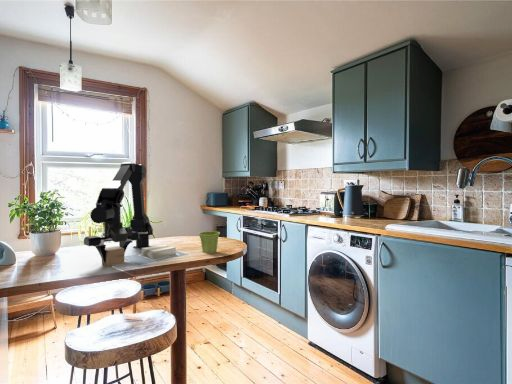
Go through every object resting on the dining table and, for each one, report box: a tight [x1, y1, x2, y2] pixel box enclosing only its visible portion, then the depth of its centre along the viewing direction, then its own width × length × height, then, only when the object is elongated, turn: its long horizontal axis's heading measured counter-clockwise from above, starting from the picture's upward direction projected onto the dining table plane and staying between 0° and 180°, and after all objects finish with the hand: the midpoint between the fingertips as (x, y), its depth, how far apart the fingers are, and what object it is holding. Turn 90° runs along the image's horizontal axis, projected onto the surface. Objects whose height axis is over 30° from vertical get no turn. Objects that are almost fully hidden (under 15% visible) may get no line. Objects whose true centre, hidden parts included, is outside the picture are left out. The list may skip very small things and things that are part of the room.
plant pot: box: [198, 230, 221, 254], centre depth 137 cm, size 9×9×9 cm
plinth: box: [141, 244, 177, 259], centre depth 130 cm, size 10×10×3 cm
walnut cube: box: [101, 245, 125, 268], centre depth 118 cm, size 6×6×6 cm
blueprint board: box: [124, 250, 189, 265], centre depth 129 cm, size 17×22×1 cm
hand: (113, 260), depth 118 cm, fingers closed on walnut cube, 6 cm apart
